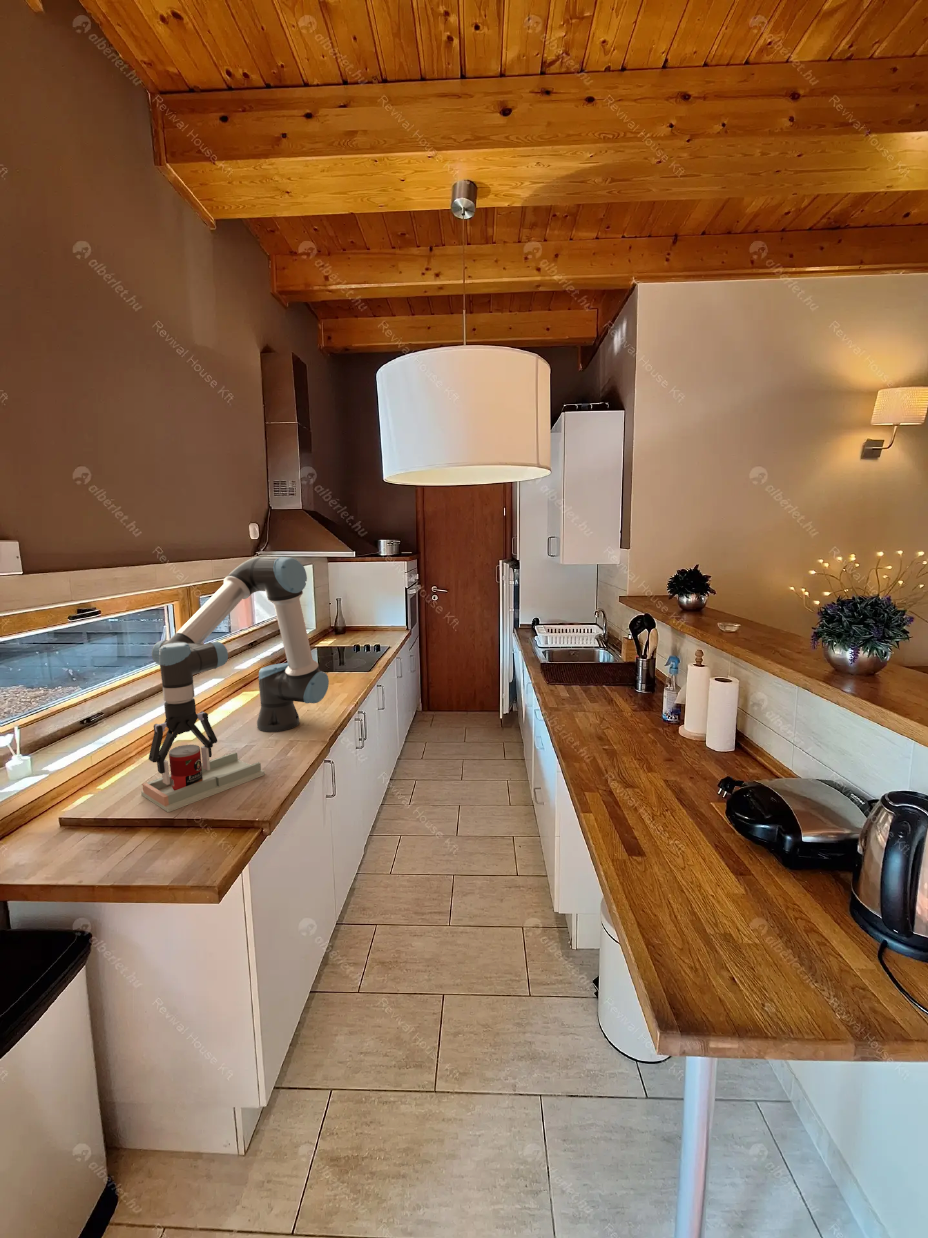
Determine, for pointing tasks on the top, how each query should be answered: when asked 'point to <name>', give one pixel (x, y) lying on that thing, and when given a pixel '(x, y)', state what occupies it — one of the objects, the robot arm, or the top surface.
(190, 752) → the canned food
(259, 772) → the grey miter box
